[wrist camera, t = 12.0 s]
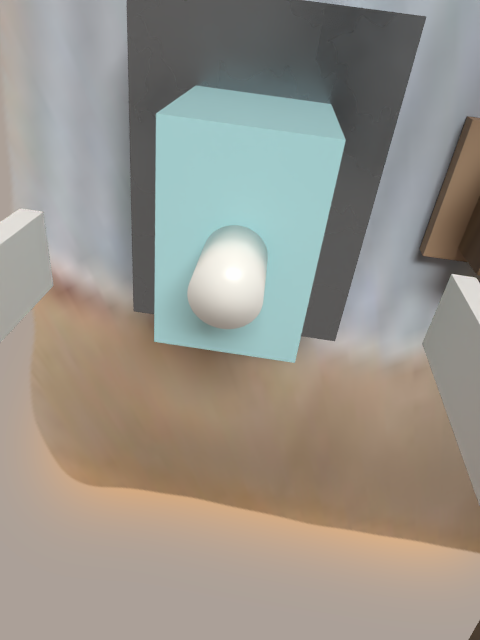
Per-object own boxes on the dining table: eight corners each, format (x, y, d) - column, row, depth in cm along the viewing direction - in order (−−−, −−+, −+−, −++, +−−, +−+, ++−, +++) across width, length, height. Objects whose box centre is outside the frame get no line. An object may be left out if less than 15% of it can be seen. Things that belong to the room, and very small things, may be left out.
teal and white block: (326, 91, 23) (356, 166, 12) (294, 251, 28) (294, 413, 17) (209, 75, 24) (127, 134, 12) (199, 237, 29) (133, 389, 17)
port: (398, 16, 23) (428, 16, 18) (328, 290, 32) (335, 344, 27) (162, -15, 23) (123, -24, 18) (158, 265, 32) (132, 313, 27)
